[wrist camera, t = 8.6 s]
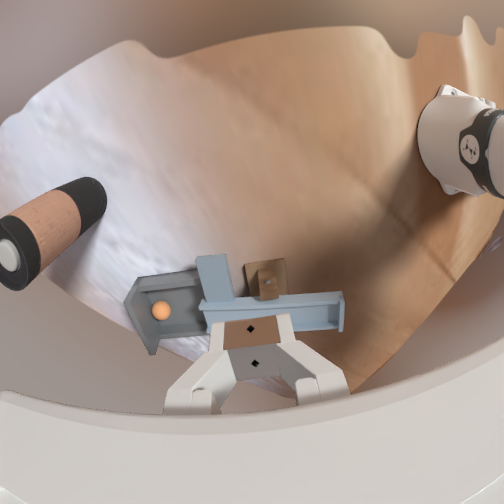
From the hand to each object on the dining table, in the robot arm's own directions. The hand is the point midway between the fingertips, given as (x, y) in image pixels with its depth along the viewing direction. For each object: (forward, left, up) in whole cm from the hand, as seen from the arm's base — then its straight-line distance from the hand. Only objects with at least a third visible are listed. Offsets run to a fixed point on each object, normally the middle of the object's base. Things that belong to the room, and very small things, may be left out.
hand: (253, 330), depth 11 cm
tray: (+14, +18, -29) cm, 37 cm away
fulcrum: (-1, +18, -29) cm, 34 cm away
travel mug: (+24, -2, -29) cm, 38 cm away
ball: (+17, +18, -27) cm, 36 cm away
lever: (-1, +15, -24) cm, 28 cm away
